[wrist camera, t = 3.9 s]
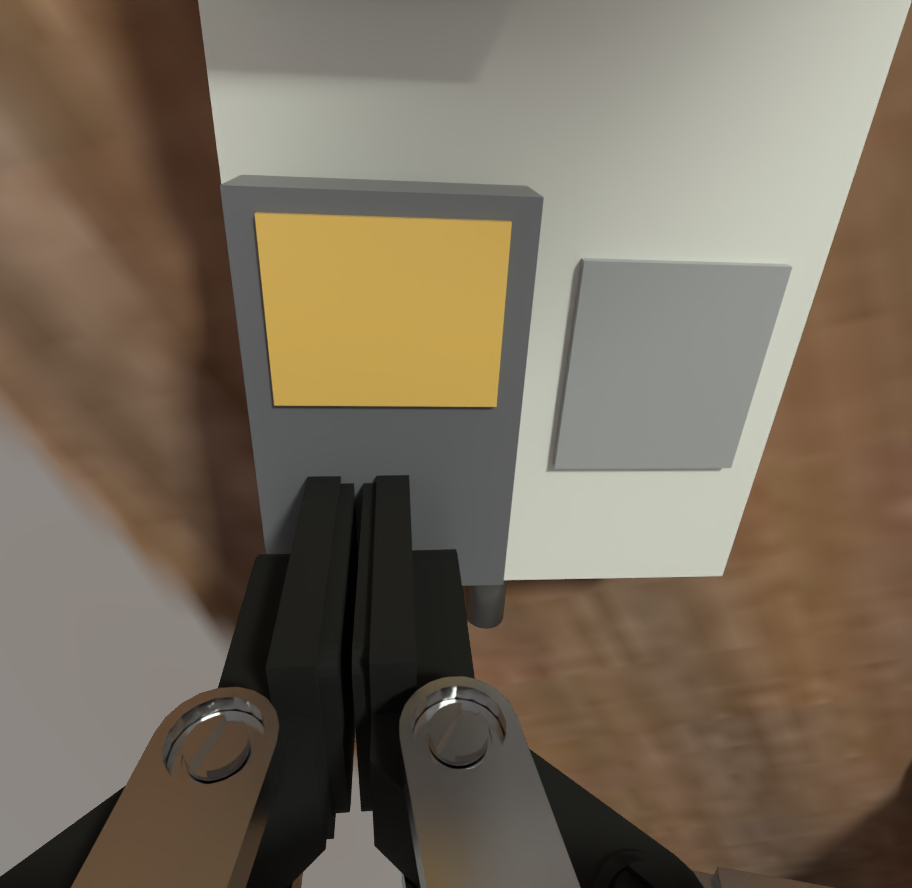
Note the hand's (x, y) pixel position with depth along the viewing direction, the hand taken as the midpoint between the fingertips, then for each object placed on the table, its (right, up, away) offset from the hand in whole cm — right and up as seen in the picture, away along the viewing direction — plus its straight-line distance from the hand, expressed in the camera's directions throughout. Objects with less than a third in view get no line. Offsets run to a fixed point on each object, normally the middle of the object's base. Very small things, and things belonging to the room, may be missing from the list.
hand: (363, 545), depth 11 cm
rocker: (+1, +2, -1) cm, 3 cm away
